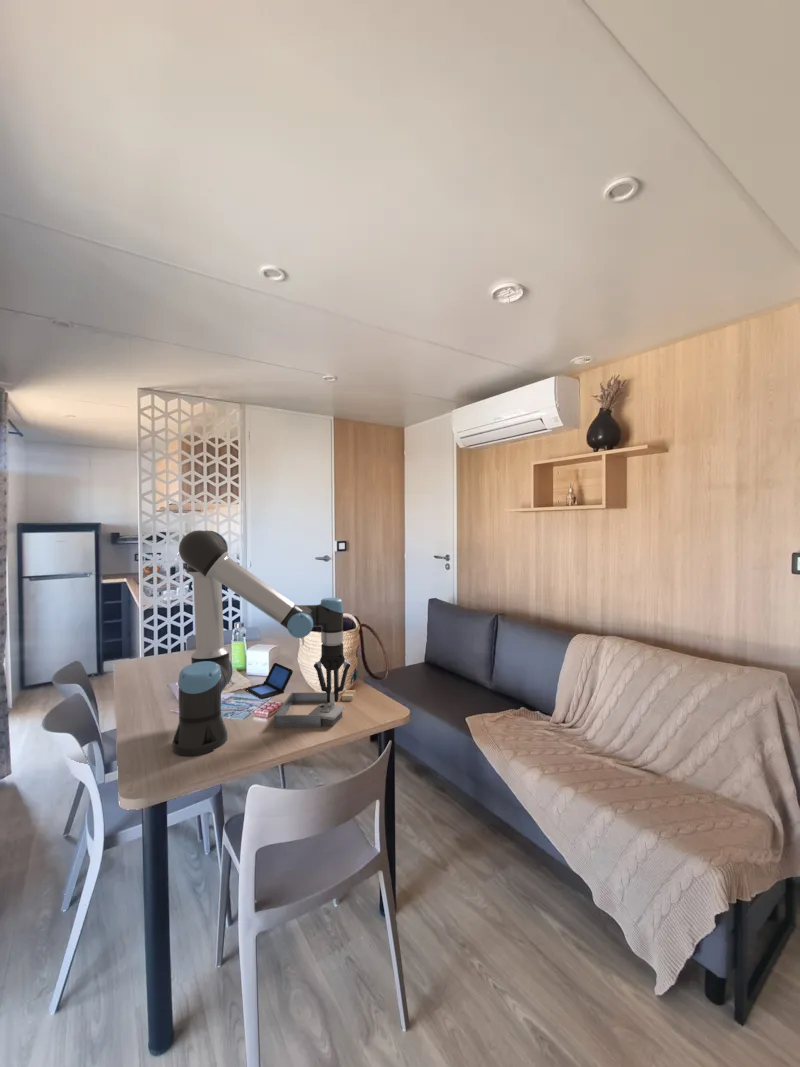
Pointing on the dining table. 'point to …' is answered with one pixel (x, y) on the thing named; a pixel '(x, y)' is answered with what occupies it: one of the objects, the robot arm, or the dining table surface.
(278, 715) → the socket recess
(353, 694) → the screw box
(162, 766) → the dining table surface
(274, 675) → the handheld game console
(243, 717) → the dining table surface
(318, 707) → the electrical switch
